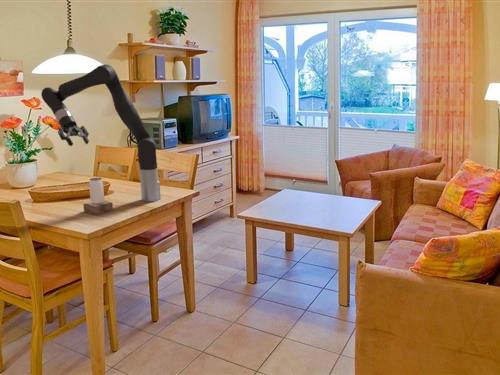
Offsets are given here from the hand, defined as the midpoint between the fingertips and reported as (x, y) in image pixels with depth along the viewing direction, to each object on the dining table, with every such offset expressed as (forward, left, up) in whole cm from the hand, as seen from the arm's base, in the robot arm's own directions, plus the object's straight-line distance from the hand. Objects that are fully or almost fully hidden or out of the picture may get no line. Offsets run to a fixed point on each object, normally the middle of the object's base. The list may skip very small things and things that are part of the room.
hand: (79, 144), depth 240 cm
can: (0, +11, -29) cm, 31 cm away
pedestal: (0, +12, -33) cm, 35 cm away
